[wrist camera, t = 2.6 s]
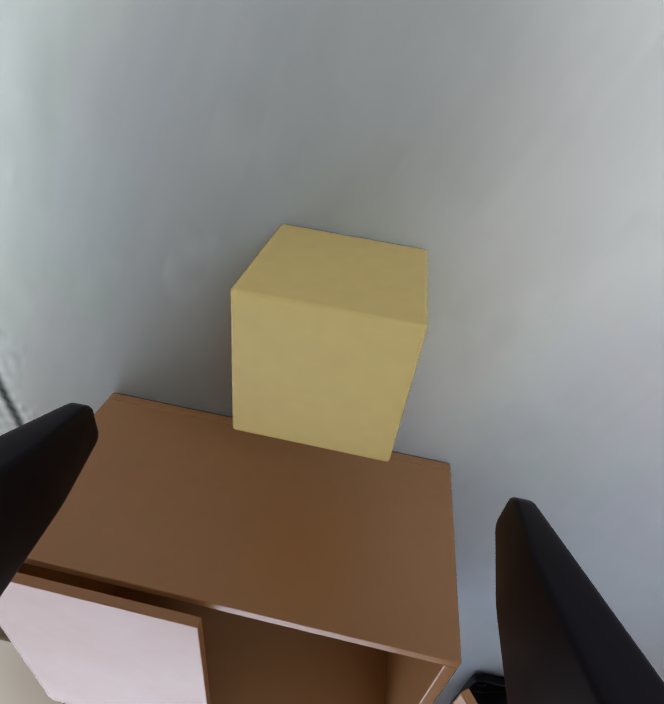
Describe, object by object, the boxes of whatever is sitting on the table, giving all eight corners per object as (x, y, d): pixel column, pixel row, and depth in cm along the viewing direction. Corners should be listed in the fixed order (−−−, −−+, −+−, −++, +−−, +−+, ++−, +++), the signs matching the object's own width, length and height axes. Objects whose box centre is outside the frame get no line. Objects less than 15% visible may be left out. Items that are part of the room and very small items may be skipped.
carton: (450, 463, 19) (463, 692, 12) (397, 592, 25) (387, 789, 18) (113, 392, 20) (-43, 567, 13) (144, 533, 26) (49, 699, 19)
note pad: (428, 249, 14) (428, 326, 10) (397, 367, 16) (388, 463, 13) (281, 222, 14) (229, 288, 10) (274, 343, 17) (231, 429, 13)
